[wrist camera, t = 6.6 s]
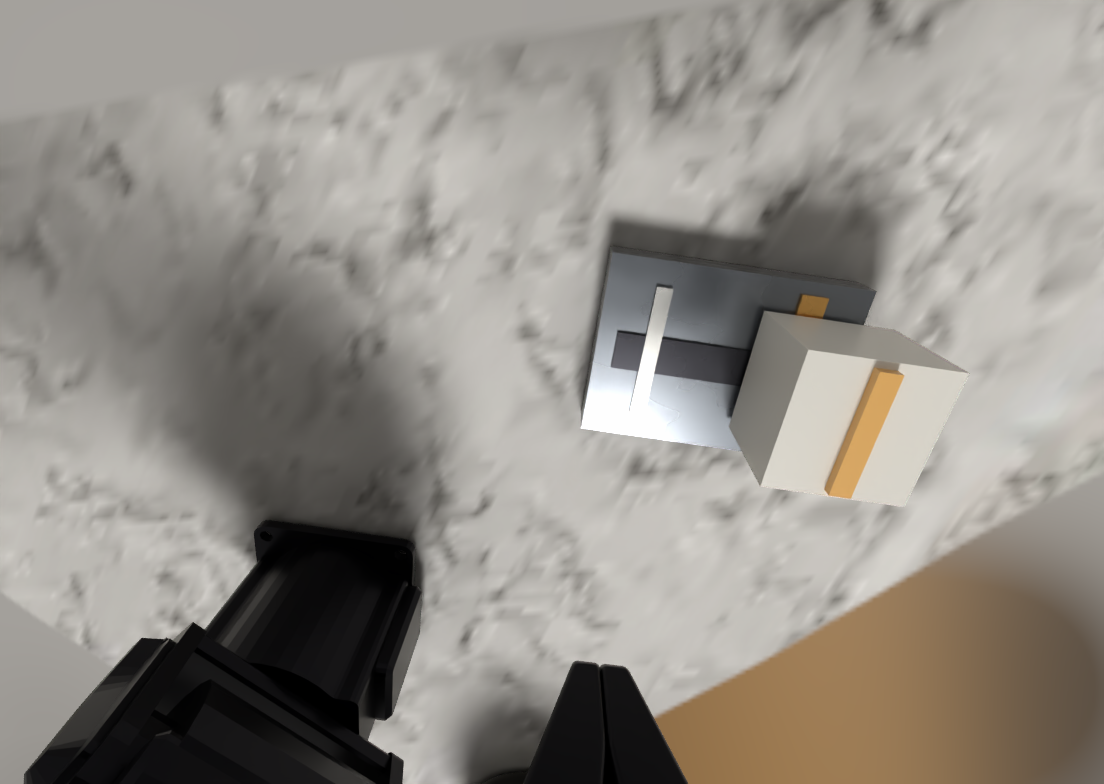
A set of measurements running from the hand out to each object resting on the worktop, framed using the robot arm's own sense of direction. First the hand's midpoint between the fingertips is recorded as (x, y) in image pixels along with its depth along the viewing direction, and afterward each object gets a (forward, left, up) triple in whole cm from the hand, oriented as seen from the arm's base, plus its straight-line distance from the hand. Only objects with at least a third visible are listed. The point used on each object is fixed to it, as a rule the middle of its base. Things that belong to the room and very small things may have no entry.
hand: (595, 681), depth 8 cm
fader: (+7, +2, -10) cm, 13 cm away
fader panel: (+4, +2, -12) cm, 13 cm away
